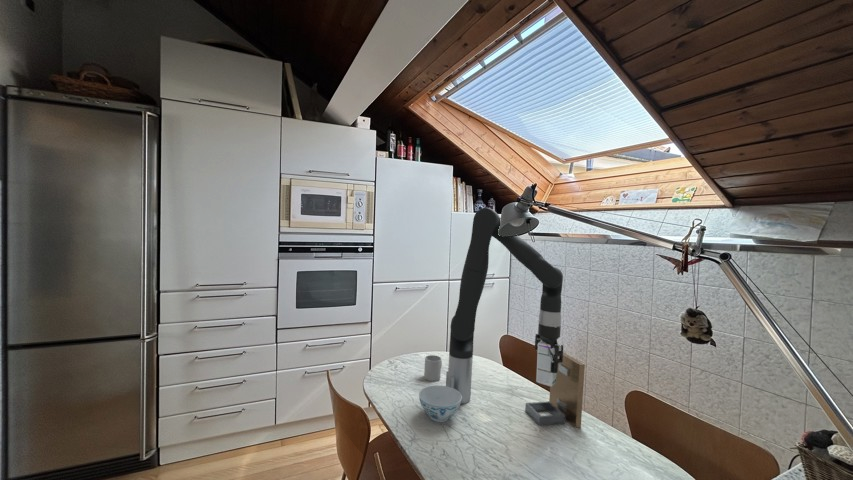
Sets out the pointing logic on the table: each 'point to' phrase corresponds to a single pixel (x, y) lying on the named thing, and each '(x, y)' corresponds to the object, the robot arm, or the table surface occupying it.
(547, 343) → the robot arm
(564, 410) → the wooden board with tray
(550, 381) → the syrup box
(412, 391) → the table surface
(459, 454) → the table surface
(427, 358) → the cup
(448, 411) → the chinaware
